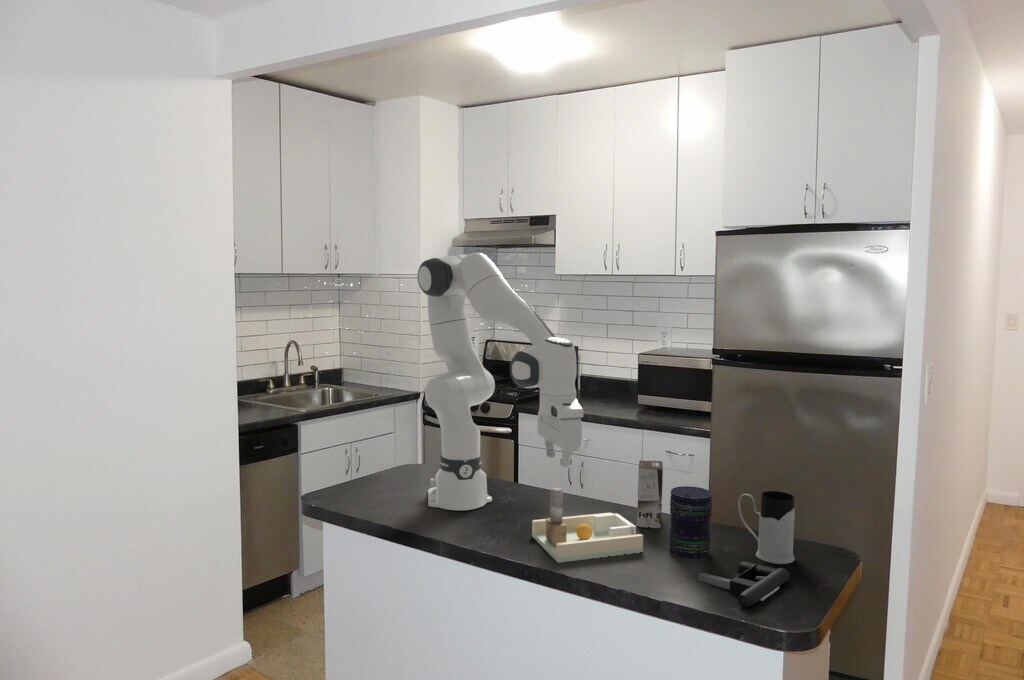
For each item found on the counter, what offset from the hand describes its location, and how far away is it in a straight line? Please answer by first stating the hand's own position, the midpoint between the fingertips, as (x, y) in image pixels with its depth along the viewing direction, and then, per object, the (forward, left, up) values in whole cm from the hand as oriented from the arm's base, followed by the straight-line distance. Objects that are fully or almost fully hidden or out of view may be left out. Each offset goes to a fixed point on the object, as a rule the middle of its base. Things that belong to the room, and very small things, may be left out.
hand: (557, 461), depth 182 cm
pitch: (0, +8, -22) cm, 23 cm away
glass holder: (+18, +47, -22) cm, 55 cm away
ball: (0, +7, -18) cm, 20 cm away
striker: (0, 0, -20) cm, 20 cm away
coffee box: (-10, +31, -22) cm, 39 cm away
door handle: (+32, +31, -22) cm, 49 cm away
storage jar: (+12, +30, -22) cm, 39 cm away
